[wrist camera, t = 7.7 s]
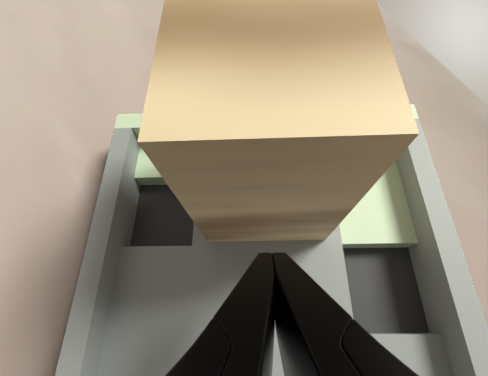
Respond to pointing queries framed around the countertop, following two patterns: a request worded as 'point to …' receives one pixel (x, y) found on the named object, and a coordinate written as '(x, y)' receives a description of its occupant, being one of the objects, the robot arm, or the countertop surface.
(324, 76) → the block
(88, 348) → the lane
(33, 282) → the countertop surface
